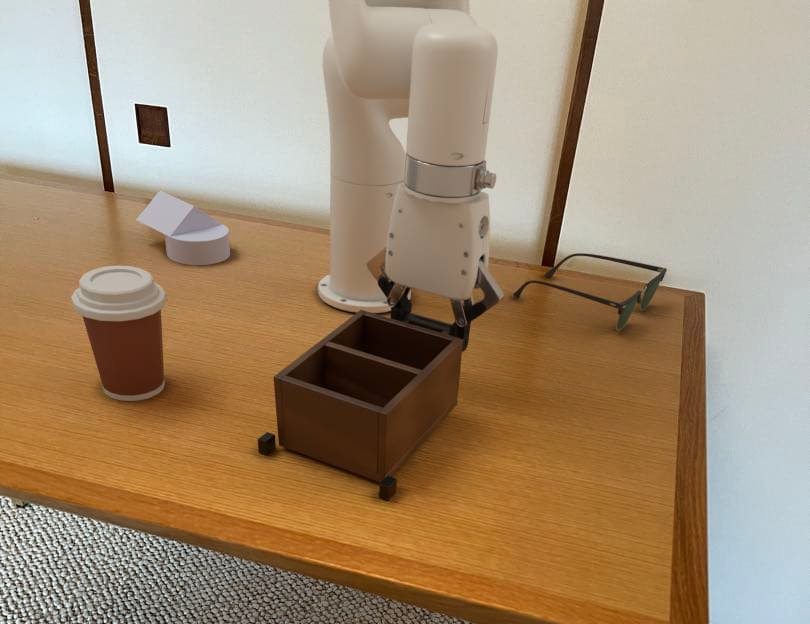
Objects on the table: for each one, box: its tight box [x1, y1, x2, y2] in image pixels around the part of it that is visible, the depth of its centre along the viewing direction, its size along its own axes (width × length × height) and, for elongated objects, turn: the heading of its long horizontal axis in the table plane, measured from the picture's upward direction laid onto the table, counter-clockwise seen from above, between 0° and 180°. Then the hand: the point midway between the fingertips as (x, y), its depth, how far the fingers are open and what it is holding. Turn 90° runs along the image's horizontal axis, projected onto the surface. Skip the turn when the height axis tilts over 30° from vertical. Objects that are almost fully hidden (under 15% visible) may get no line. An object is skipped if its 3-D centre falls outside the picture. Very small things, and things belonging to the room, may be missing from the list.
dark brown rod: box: [257, 431, 398, 502], centre depth 78 cm, size 2×15×2 cm, turn 62°
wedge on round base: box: [135, 190, 231, 266], centre depth 117 cm, size 9×7×13 cm
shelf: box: [273, 310, 463, 484], centre depth 83 cm, size 21×12×8 cm, turn 152°
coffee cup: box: [70, 265, 167, 402], centre depth 84 cm, size 9×9×12 cm
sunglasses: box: [512, 252, 668, 331], centre depth 112 cm, size 16×17×5 cm
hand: (427, 345), depth 90 cm, fingers closed on shelf, 6 cm apart
